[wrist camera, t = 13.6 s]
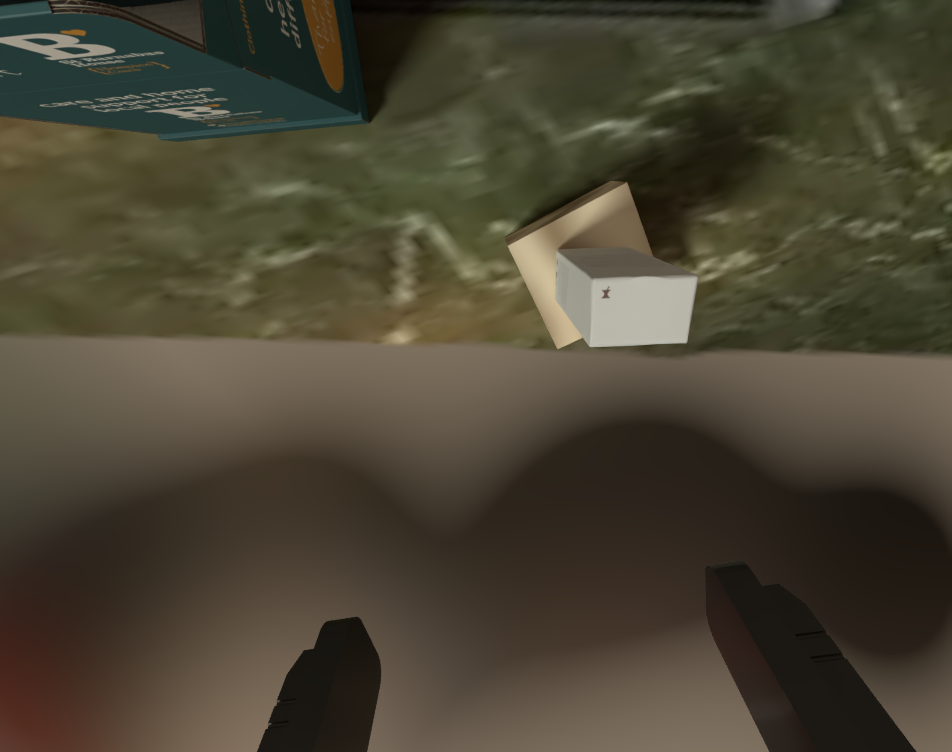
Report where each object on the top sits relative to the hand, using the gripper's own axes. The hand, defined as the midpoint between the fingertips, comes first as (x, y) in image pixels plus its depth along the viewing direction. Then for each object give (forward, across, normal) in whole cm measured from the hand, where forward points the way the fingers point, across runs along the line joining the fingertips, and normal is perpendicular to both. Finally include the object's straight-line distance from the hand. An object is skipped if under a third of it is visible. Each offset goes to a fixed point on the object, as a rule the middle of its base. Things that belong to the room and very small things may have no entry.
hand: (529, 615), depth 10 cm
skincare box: (+30, -8, 0) cm, 31 cm away
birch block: (+35, -8, 0) cm, 35 cm away
